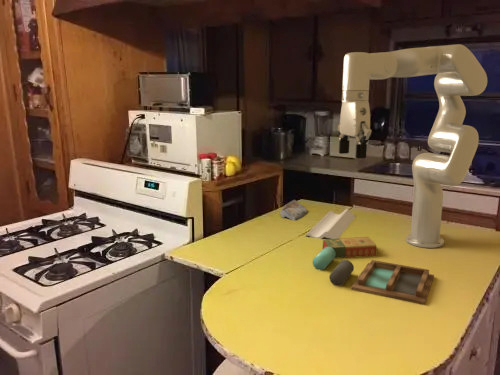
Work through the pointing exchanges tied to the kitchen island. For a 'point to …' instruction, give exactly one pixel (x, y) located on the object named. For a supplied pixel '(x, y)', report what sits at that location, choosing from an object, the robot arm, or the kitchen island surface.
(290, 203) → the stone
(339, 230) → the crown molding
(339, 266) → the dark gray cylinder
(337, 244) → the carton
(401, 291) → the rack
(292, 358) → the kitchen island surface
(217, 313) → the kitchen island surface
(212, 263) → the kitchen island surface
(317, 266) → the mint green cylinder
